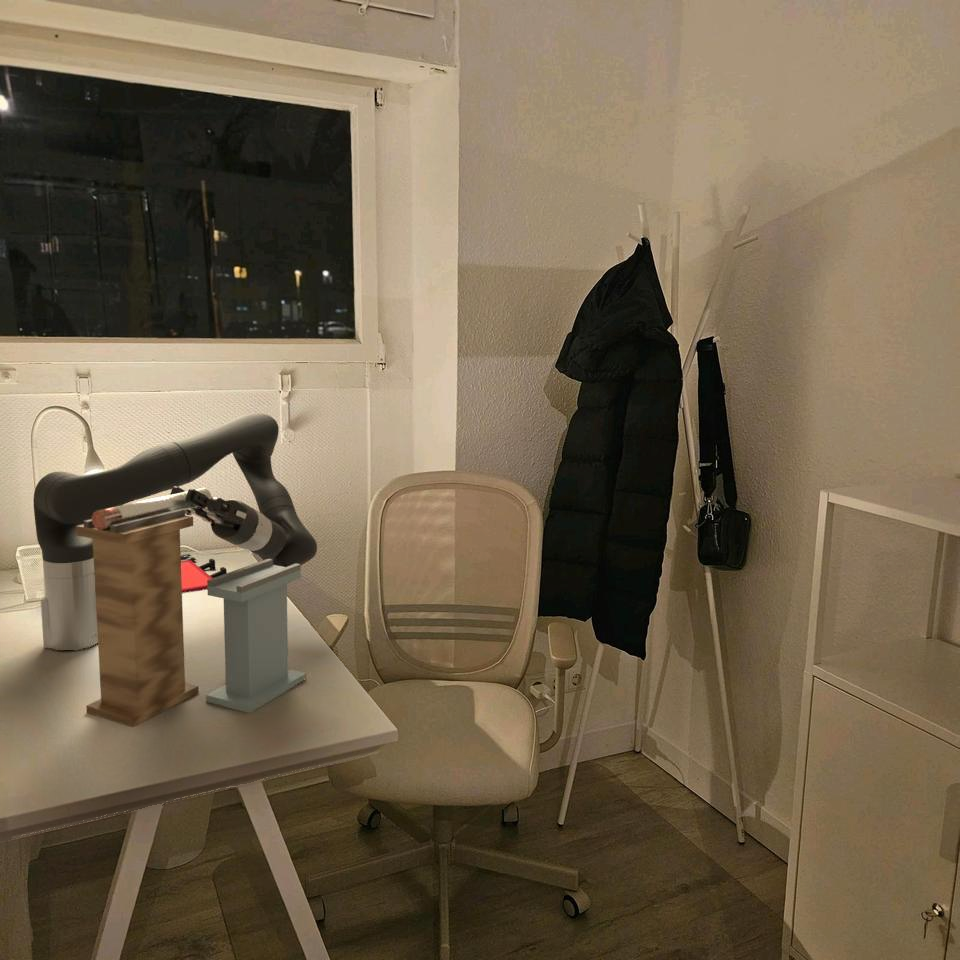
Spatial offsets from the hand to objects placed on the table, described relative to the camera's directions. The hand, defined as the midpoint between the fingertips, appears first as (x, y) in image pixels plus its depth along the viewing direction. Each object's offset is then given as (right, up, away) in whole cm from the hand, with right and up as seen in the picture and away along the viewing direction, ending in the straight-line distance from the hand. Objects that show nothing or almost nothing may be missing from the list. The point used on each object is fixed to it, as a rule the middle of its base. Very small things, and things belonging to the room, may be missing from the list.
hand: (181, 493), depth 138 cm
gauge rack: (+12, -34, +3) cm, 36 cm away
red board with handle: (-24, -22, +68) cm, 76 cm away
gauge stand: (-5, -34, -3) cm, 35 cm away
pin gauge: (-2, -4, -4) cm, 6 cm away
